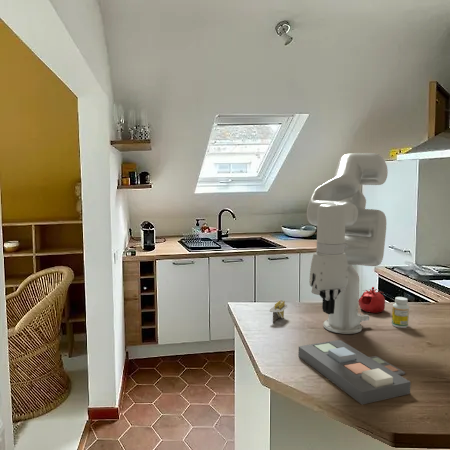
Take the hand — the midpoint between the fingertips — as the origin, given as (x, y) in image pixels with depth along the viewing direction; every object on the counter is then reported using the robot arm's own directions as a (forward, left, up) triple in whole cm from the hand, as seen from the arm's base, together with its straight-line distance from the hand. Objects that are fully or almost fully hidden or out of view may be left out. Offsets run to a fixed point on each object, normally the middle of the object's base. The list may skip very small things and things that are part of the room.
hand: (328, 312), depth 125 cm
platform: (-2, -33, -14) cm, 36 cm away
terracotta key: (0, +14, -13) cm, 19 cm away
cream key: (0, +21, -11) cm, 24 cm away
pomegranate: (-41, -30, -13) cm, 52 cm away
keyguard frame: (0, +11, -13) cm, 17 cm away
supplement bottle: (-39, -13, -13) cm, 43 cm away
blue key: (0, +7, -11) cm, 14 cm away
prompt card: (-11, +11, -13) cm, 20 cm away
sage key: (0, 0, -13) cm, 13 cm away
